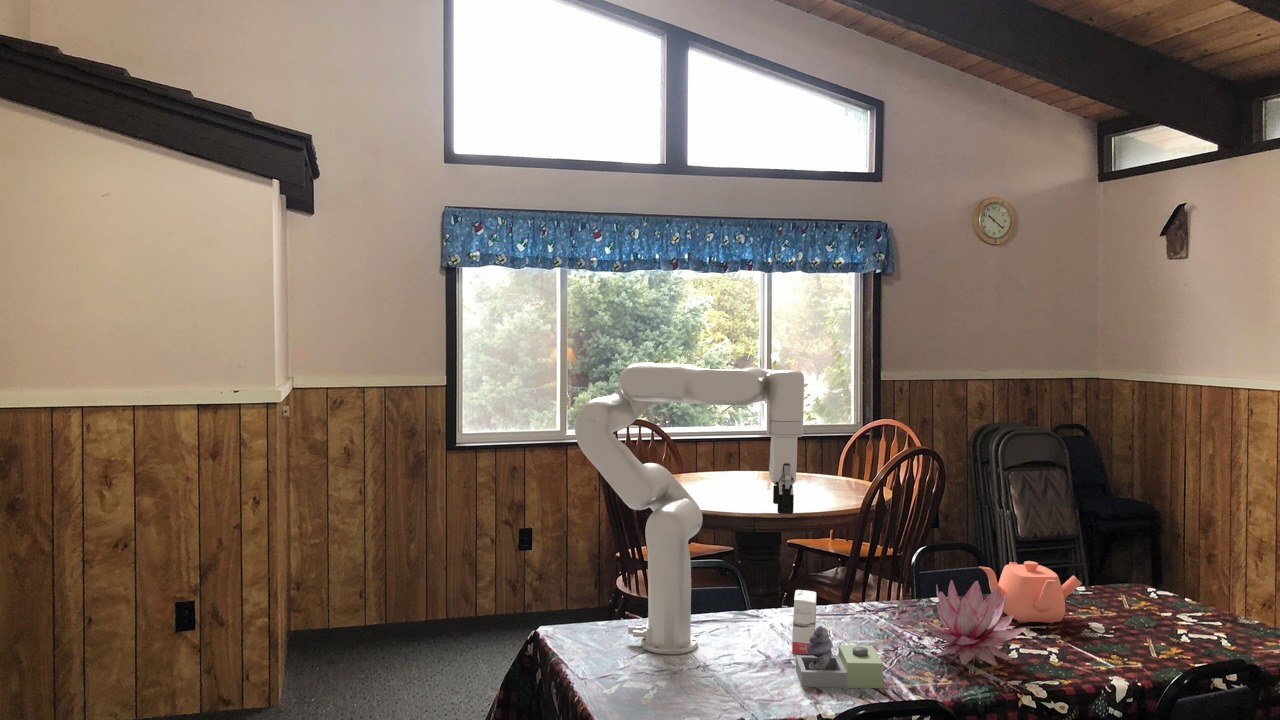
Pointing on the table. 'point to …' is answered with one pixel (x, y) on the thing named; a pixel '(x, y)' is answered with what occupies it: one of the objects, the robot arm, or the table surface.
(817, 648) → the seashell
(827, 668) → the green and grey box
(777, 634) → the table surface
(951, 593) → the decorative flower
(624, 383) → the robot arm
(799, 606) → the ink box
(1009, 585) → the teapot
